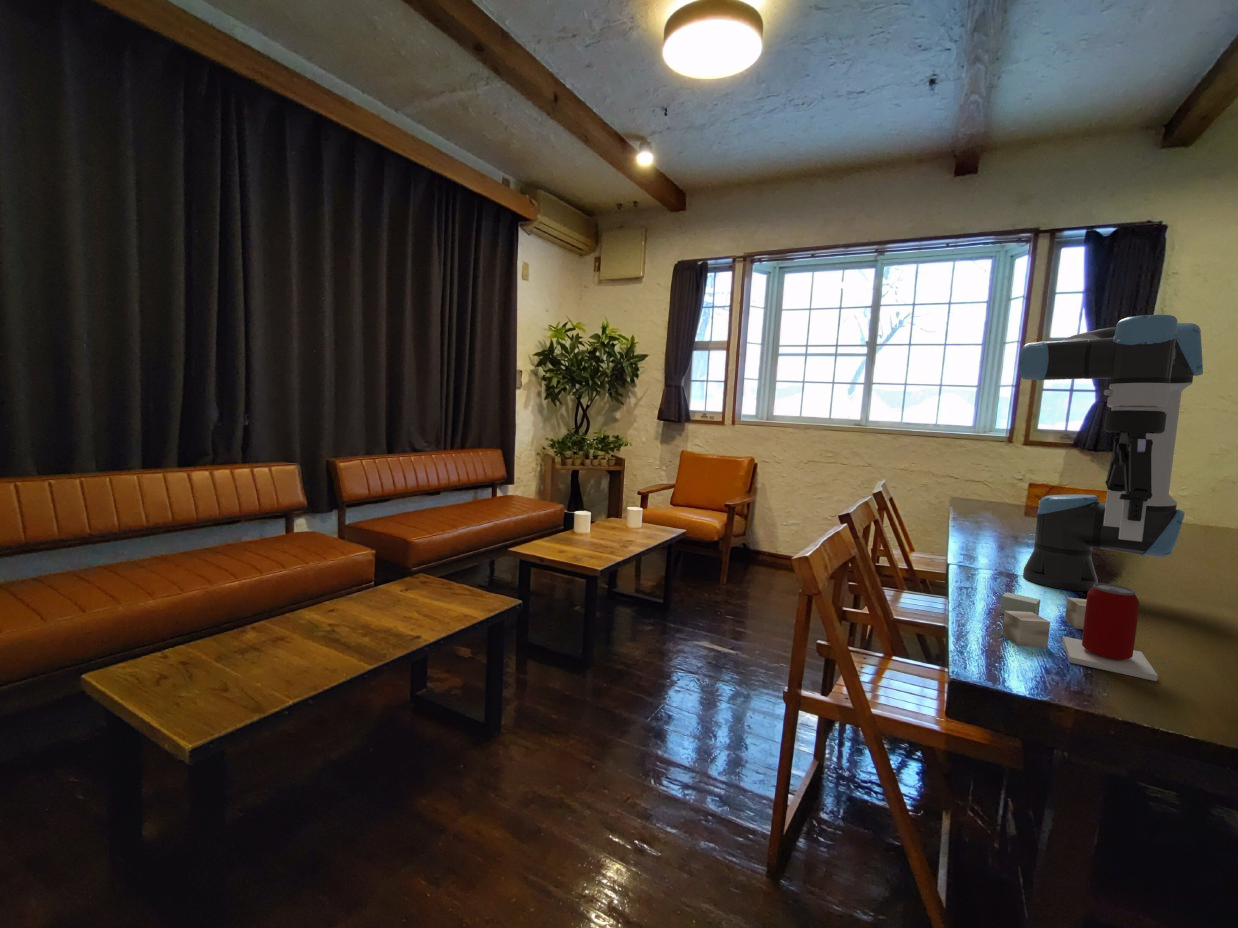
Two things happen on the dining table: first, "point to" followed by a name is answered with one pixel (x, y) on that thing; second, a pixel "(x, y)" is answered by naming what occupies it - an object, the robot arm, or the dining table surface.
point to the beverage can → (1110, 621)
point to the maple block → (1026, 629)
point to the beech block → (1075, 612)
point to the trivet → (1109, 661)
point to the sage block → (1019, 603)
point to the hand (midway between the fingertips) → (1121, 533)
